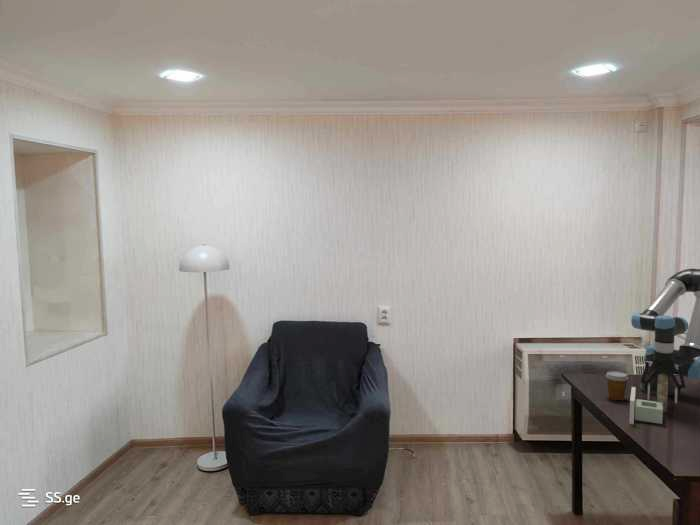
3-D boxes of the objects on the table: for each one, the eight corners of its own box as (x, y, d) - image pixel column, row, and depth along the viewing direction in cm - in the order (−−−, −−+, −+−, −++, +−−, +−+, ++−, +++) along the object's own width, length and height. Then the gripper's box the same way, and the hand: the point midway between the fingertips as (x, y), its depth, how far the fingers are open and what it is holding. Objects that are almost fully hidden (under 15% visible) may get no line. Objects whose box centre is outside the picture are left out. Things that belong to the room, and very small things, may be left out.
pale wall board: (635, 408, 235) (635, 387, 235) (633, 424, 218) (634, 401, 217) (631, 408, 236) (631, 386, 235) (629, 423, 219) (630, 400, 218)
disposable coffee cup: (625, 396, 252) (626, 371, 251) (629, 402, 243) (630, 377, 242) (604, 394, 255) (604, 370, 254) (606, 400, 246) (607, 375, 245)
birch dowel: (662, 408, 235) (663, 374, 234) (669, 412, 231) (670, 376, 230) (654, 409, 235) (655, 374, 233) (660, 412, 231) (662, 377, 229)
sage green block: (661, 416, 226) (662, 402, 225) (662, 424, 217) (662, 410, 217) (635, 412, 231) (636, 398, 230) (634, 419, 222) (635, 406, 222)
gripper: (693, 352, 228) (691, 402, 230) (635, 346, 239) (633, 394, 241) (694, 356, 222) (692, 407, 224) (634, 350, 233) (633, 399, 235)
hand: (662, 400), depth 232 cm, fingers open, 10 cm apart
